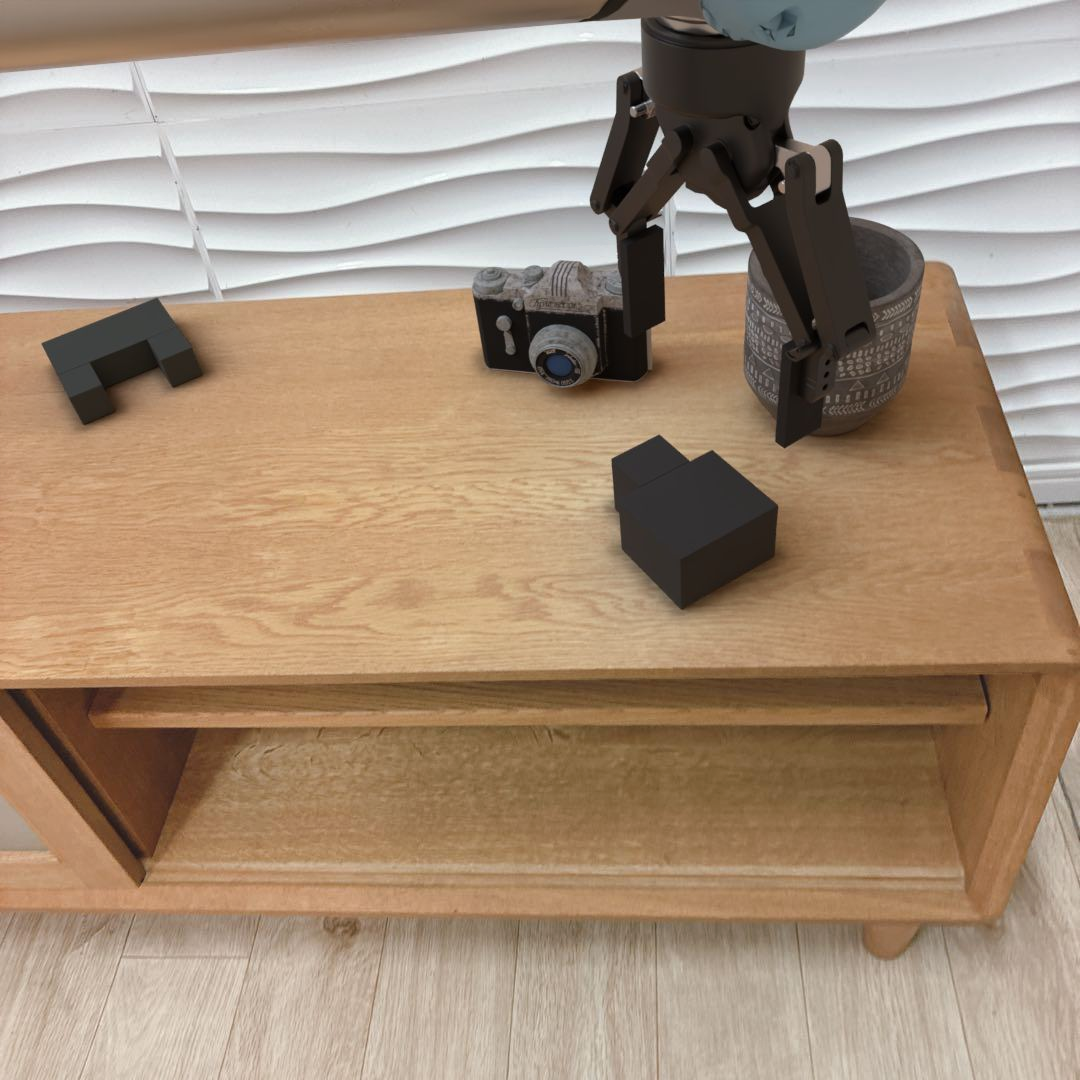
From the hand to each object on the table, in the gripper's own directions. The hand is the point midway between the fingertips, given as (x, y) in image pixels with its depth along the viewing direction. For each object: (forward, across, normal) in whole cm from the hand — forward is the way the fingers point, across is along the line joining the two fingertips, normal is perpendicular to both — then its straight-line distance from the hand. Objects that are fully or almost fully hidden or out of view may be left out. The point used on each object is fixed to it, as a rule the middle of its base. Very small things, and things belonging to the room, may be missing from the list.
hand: (716, 377), depth 64 cm
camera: (+16, +24, -4) cm, 29 cm away
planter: (+16, +7, -17) cm, 24 cm away
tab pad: (+16, +3, +1) cm, 16 cm away
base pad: (+16, +51, +26) cm, 59 cm away
